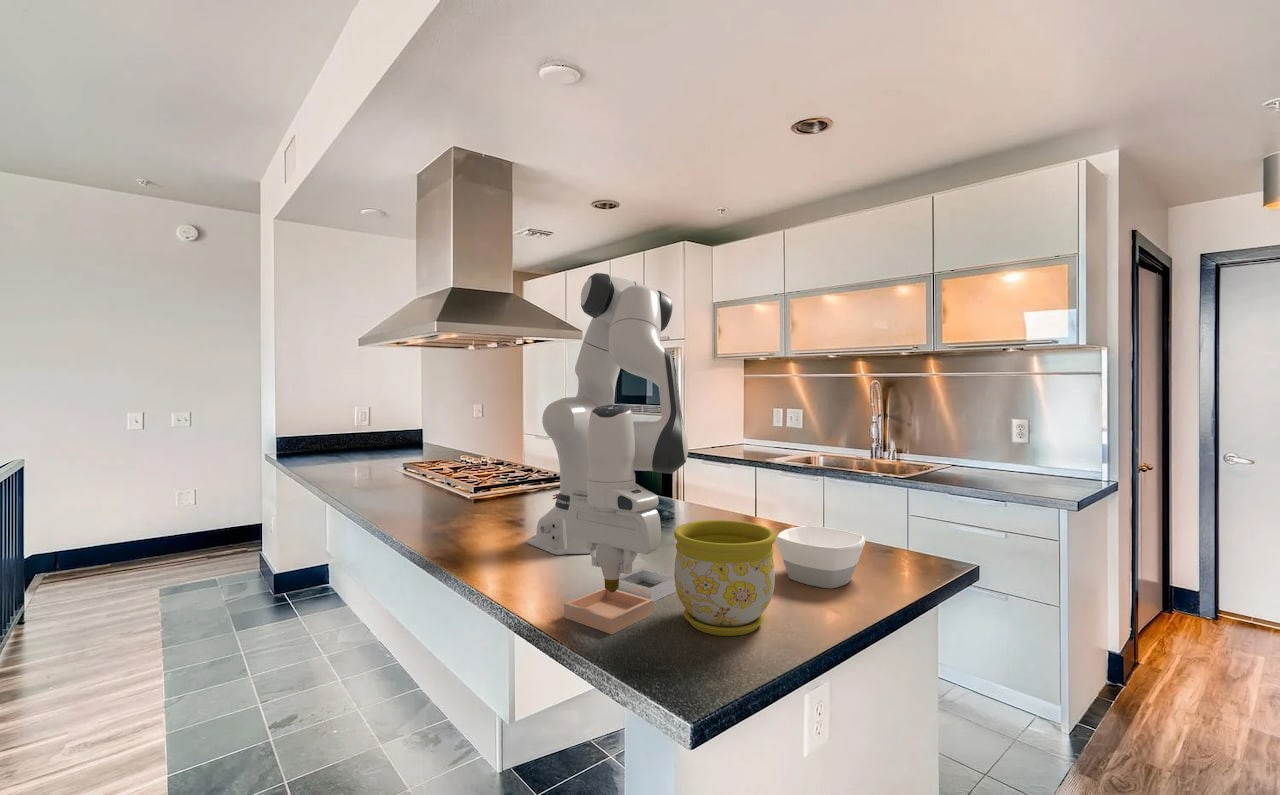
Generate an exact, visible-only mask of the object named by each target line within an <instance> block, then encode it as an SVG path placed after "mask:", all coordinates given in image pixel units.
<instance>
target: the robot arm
mask: <svg viewBox="0 0 1280 795" xmlns="http://www.w3.org/2000/svg"><path fill="white" fill-rule="evenodd" d="M580 308H581V309H582V311H583V313H584V314H585V315H588V316H589V317H591V320H590V323H589V325H588V327H587V329H586V332H585V335H584V338H583V340H582V344H581V346H580V347H581V348H580V351H579V354H578V357H577V360H576V364H575V366H574V372H575V375H576V376H577V381H578V384H577V385H578V387H577V394H576V395H575V397H573V396H571V397H563V398H559V399H558V400H555V401H552V402H551V403H549V404H548V405H547V406H546V407H545V409H544V411H543V414H542V419H541V420H542V421H541V422H542V427H543V429H544V431H545V433H546V434H547V436H548V437H549V438H551V440H552V442H553V444H554V447H555V450H556V453H557V457H558V464H559V492H558V493H556V494H552V500H556V501H555V504H554V505H555V506H554V507H552V508H551V509H550V510H549V511H548V512H547V513H545V514H544V515H543V516H542V517H540V518H539V520H538V521H537V525H536V532H535V533H536V534H534V535H533V536H530V537H529V538H527V539H526V540H527V541H526V543H527V544H528V545H531V546H533V547H536V548H538V549H540V550H543V551H544V552H545V551H546V552H547V553H550V554H553V555H556V556H557V555H568V554H569V555H570V554H571V555H573V554H574V555H585V554H589V555H590V557H591V566H593V567H596V568H601V567H600V565H599V564H598V562H597V560H596V549H597V547H598V545H599V544H601V543H606V544H608V545H610V546H611V547H614V548H619V549H623V550H624V555H625V556H627V557H626V559H625V561H624V563H620V572H621V574H623V575H625V574H629V573H631V572H632V571H633V563H634V561H635V559H636V557H637V556H638V553H639V554H642V555H650V554H652V553H653V554H654V553H655V552H657V551H659V549H660V548H661V545H662V526H661V525H662V524H661V516H660V514H659V512H658V510H657V509H656V507H658V506H659V503H660V502H659V495H657V494H655V493H654V492H652V491H650V490H648V489H646V488H644V487H643V486H641V485H640V484H638V483H636V472H635V471H638V472H639V471H642V472H644V471H645V472H647V471H649V472H655V473H663V474H670V475H671V474H673V473H675V472H676V471H678V470H679V469H680V468H681V467H683V466H684V465H685V464H686V463H687V459H688V455H689V443H688V437H687V434H686V431H685V427H684V422H683V415H682V414H683V413H682V406H681V396H680V390H679V389H680V388H679V382H678V381H679V380H678V375H677V369H676V363H675V359H674V357H673V355H672V353H671V351H669V350H666V349H665V348H664V347H663V344H662V342H661V333H662V332H663V331H665V329H667V327H668V326H669V322H670V320H671V317H672V314H673V302H672V299H671V297H670V296H669V295H668V294H666V293H664V292H662V291H661V290H656V289H653V288H652V287H649V286H647V285H645V284H643V283H640V282H638V281H632V280H628V279H624V278H621V277H617V276H612V275H609V274H608V273H600V272H596V273H595V272H594V274H592V275H590V276H589V277H588V278H587V280H586V281H585V283H584V285H583V286H582V289H581V292H580ZM621 370H623V371H624V372H625V371H626V372H627V373H629V374H631V375H634V376H636V377H640V378H643V379H645V380H648V381H650V382H652V383H653V384H655V385H656V386H657V387H658V393H659V402H660V411H661V418H659V419H658V420H655V421H650V420H649V421H641V420H640V421H637V420H635V421H634V416H633V413H632V410H631V408H630V407H629V406H626V405H621V404H615V397H616V386H617V381H618V377H619V375H620V371H621Z"/></svg>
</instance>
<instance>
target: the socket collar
mask: <svg viewBox="0 0 1280 795" xmlns="http://www.w3.org/2000/svg"><path fill="white" fill-rule="evenodd" d="M642 582H644V583H649V584H653V586H652V587H647V586H643V585H639V584H640V583H642ZM617 590H620V591H623V592H627V593H630V594H634V595H637V596H641V597H644V598H648V599H651V600H653V603H655V602H657V601H658V600H661V599H663V598H665V597H668V596H670V595H672V594H674V593H677V591H676V587H675V578H674V575H672V574H670V573H669V574H668V573H665V572H661V571H656V570H652V569H650V568H649V569H648V568H644V567H640V568H638V569H635V570H632V572H631V573H629V574H623V575H622V574H621V575H620V577H619V588H618V589H617Z"/></svg>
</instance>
